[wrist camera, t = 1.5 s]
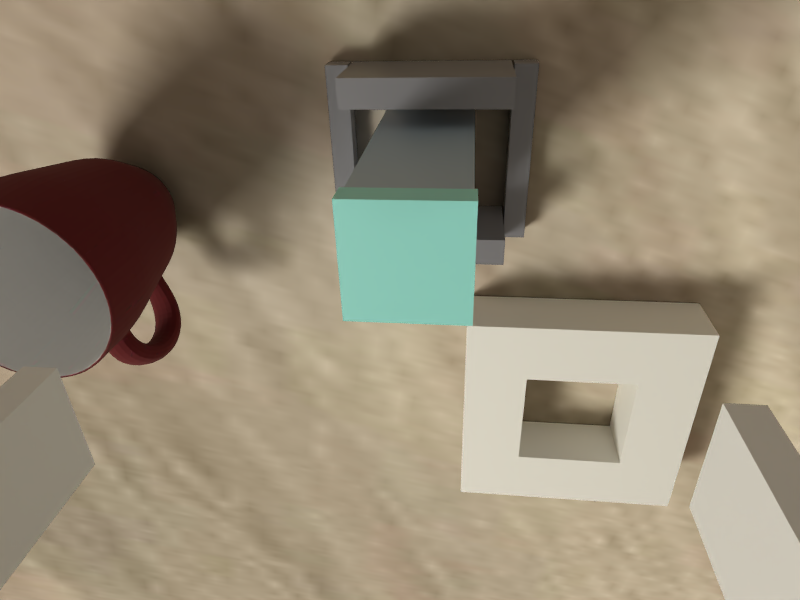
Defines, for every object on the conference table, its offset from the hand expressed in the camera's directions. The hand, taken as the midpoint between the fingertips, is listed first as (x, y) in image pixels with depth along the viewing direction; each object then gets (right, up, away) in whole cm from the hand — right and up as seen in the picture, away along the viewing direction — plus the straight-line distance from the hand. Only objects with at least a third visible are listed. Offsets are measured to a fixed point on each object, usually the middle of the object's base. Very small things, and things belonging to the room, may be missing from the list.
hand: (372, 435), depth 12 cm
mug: (-13, +7, +20) cm, 25 cm away
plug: (+2, +10, +16) cm, 19 cm away
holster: (+2, +10, +16) cm, 19 cm away
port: (+10, -2, +22) cm, 25 cm away
